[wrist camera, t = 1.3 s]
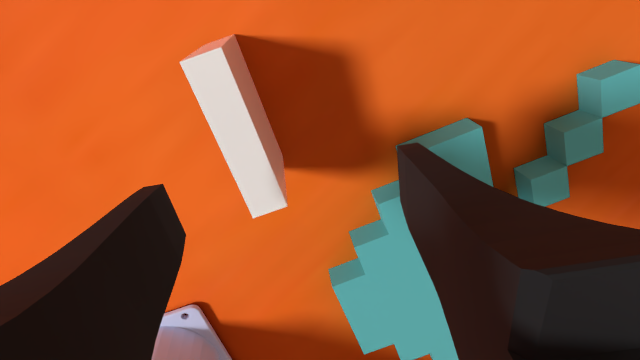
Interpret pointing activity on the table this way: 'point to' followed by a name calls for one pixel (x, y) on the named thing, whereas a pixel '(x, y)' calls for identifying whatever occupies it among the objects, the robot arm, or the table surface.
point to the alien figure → (471, 157)
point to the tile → (238, 123)
